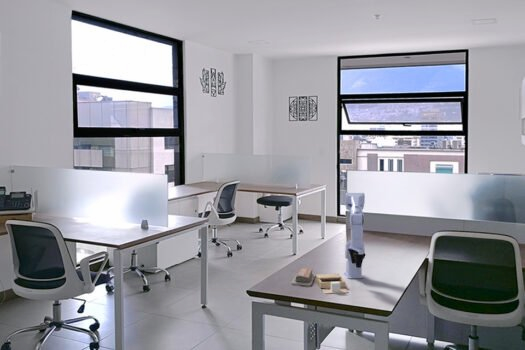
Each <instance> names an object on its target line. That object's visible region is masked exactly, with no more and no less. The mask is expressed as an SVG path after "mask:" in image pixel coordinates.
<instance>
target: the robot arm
mask: <svg viewBox="0 0 525 350" xmlns="http://www.w3.org/2000/svg"><path fill="white" fill-rule="evenodd" d="M365 201H366V200H365V193H364V192H346V193H345V208H346V210H347V211H349V214H350V215H349V224H350V240H349V241H348V242H347V243H346V244H345V248H344V249H345V250H344V252H345V254H344V255H345V259H346V262H345V263H346V265H345V272H344V275H345V276H346V277H347V278H349V279H350V280H351V279H365V276H364V275H363V274H362V271H363V270H362V269H363V268H362V266H363V262H364V259H365V257H366V256H367V255H366V253H365V252H366V250H365V244H364V243H363V241H364V239H363V238H364V224H365V214H364V212H363V210H364V207H365Z"/></svg>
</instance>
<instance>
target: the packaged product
mask: <svg viewBox="0 0 525 350" xmlns="http://www.w3.org/2000/svg"><path fill="white" fill-rule="evenodd" d="M315 279H316V274H315V273H313V269H312V268H310V267H300V268H299V270H298V272H296V274H295V276H294V277H293V279H292V280H291V285H292V286H309V287H311V286H312V284H313V281H314V280H315Z"/></svg>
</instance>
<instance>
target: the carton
mask: <svg viewBox="0 0 525 350" xmlns="http://www.w3.org/2000/svg"><path fill="white" fill-rule="evenodd" d="M337 281H339V282H340V289H342V288H346V281H345V280H344V279H343V277H342V275H341V274H340V273H328V274H327V273H325V274H315V282H316V284H317V285H318V287H319V289H321V288H329V289H331V282H337Z"/></svg>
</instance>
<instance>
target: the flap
mask: <svg viewBox="0 0 525 350" xmlns="http://www.w3.org/2000/svg"><path fill="white" fill-rule="evenodd" d="M322 290H323V291H322ZM321 291H322V292H323V294H325V293H333V294H350V292H349V291H348V289H347V288H346V287H345V288H340V282H339V281H337V282H331V288H329V289H321Z"/></svg>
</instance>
